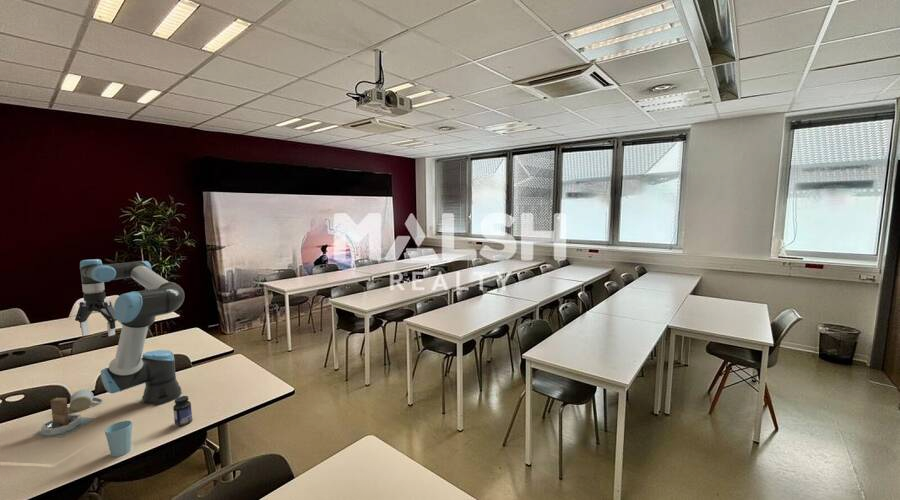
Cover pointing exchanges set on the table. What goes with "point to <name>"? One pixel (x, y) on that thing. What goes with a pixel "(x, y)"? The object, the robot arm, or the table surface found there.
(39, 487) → the table surface
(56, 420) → the brown wooden block
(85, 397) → the ceramic mug
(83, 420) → the slate board
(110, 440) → the cup
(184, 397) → the pill bottle
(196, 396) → the table surface
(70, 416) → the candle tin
